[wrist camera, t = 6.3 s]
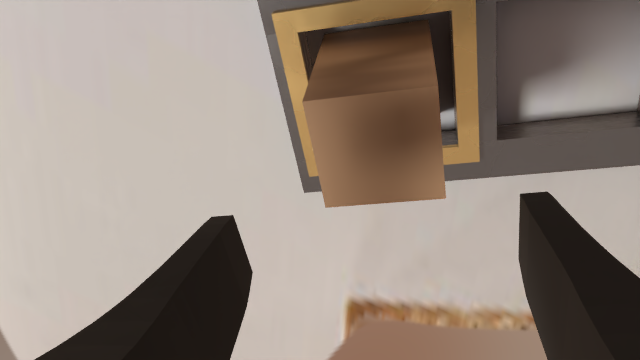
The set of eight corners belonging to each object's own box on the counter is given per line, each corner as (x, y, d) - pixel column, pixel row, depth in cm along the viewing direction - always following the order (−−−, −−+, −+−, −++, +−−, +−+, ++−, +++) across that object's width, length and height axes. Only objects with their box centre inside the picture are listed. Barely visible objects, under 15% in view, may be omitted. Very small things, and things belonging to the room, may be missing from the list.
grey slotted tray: (711, -97, 17) (734, -90, 16) (664, 146, 22) (679, 164, 21) (261, -21, 20) (253, -11, 19) (307, 177, 25) (303, 195, 24)
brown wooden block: (428, 18, 20) (438, 85, 15) (435, 113, 22) (445, 198, 17) (324, 33, 21) (302, 101, 16) (341, 123, 23) (325, 207, 18)
